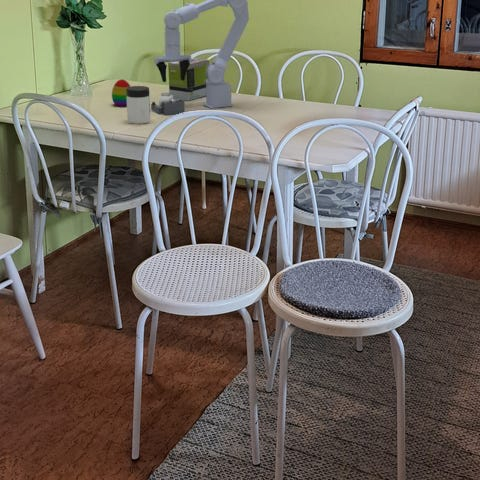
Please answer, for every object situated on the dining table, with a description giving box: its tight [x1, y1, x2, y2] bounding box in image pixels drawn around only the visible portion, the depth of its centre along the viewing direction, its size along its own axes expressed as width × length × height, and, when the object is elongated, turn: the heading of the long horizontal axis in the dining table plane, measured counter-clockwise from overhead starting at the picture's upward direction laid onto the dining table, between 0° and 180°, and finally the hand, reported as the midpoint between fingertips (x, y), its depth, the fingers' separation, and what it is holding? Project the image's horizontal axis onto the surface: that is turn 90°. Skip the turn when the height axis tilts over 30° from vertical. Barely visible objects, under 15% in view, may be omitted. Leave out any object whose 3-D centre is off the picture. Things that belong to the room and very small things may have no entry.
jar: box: [126, 85, 151, 125], centre depth 286 cm, size 9×8×12 cm
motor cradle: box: [150, 99, 186, 116], centre depth 302 cm, size 10×11×5 cm
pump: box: [158, 92, 173, 107], centre depth 305 cm, size 5×5×6 cm
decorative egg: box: [111, 79, 131, 107], centre depth 311 cm, size 8×8×10 cm
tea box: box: [167, 57, 210, 102], centre depth 326 cm, size 15×10×15 cm
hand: (173, 80), depth 307 cm, fingers open, 7 cm apart
